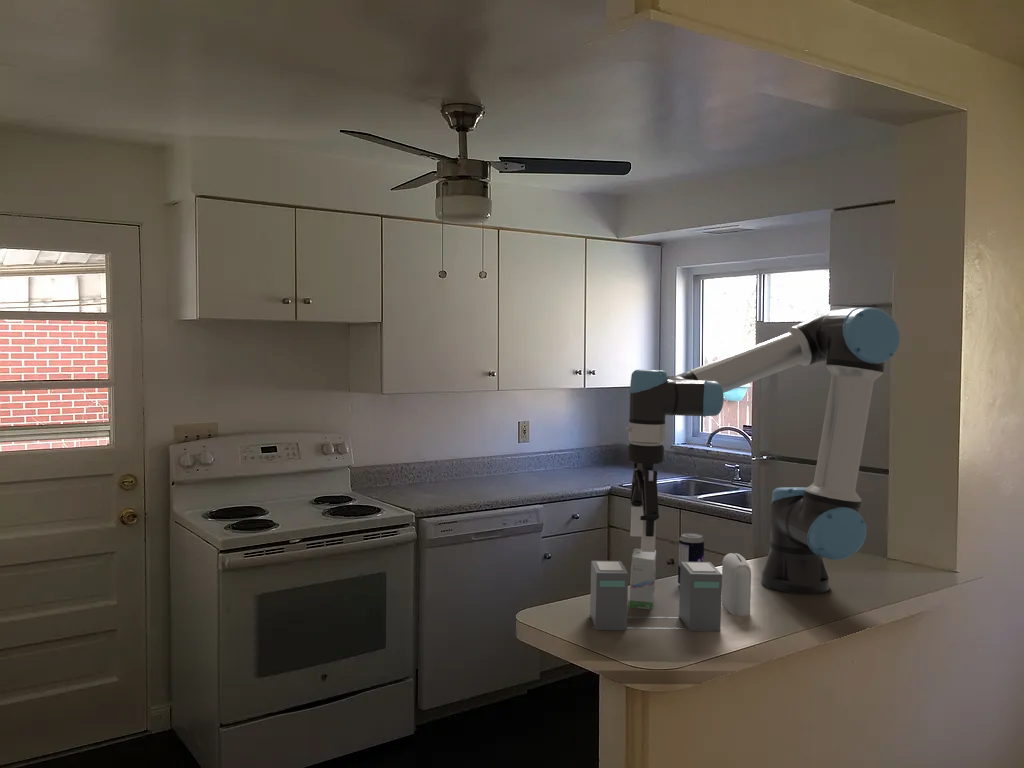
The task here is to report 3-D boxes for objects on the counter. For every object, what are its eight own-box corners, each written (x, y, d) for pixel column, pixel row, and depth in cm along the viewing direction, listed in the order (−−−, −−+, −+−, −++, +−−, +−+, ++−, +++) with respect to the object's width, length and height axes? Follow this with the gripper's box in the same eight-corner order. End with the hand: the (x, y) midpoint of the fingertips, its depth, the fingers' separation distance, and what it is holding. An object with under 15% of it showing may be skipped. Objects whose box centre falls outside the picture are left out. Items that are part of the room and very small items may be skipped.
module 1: (619, 614, 172) (621, 560, 172) (626, 630, 163) (628, 572, 162) (590, 614, 172) (591, 559, 172) (595, 630, 163) (596, 572, 162)
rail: (711, 622, 172) (711, 616, 172) (722, 636, 164) (722, 630, 164) (587, 621, 172) (587, 615, 172) (592, 635, 164) (592, 628, 164)
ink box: (630, 601, 186) (632, 547, 185) (655, 602, 185) (656, 548, 184) (628, 613, 177) (629, 557, 177) (653, 615, 176) (655, 558, 176)
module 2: (708, 615, 173) (710, 561, 172) (720, 631, 163) (722, 573, 163) (679, 615, 173) (680, 560, 172) (689, 631, 163) (691, 573, 163)
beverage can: (698, 591, 193) (700, 539, 193) (674, 587, 196) (675, 535, 196) (706, 585, 198) (707, 534, 198) (682, 581, 201) (683, 531, 200)
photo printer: (718, 605, 184) (720, 548, 183) (738, 605, 184) (740, 549, 183) (731, 621, 173) (733, 561, 173) (752, 621, 173) (754, 561, 173)
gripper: (619, 436, 191) (615, 529, 193) (638, 450, 167) (634, 558, 168) (652, 437, 192) (649, 530, 193) (676, 451, 167) (672, 559, 168)
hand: (642, 543), depth 180 cm, fingers open, 13 cm apart
